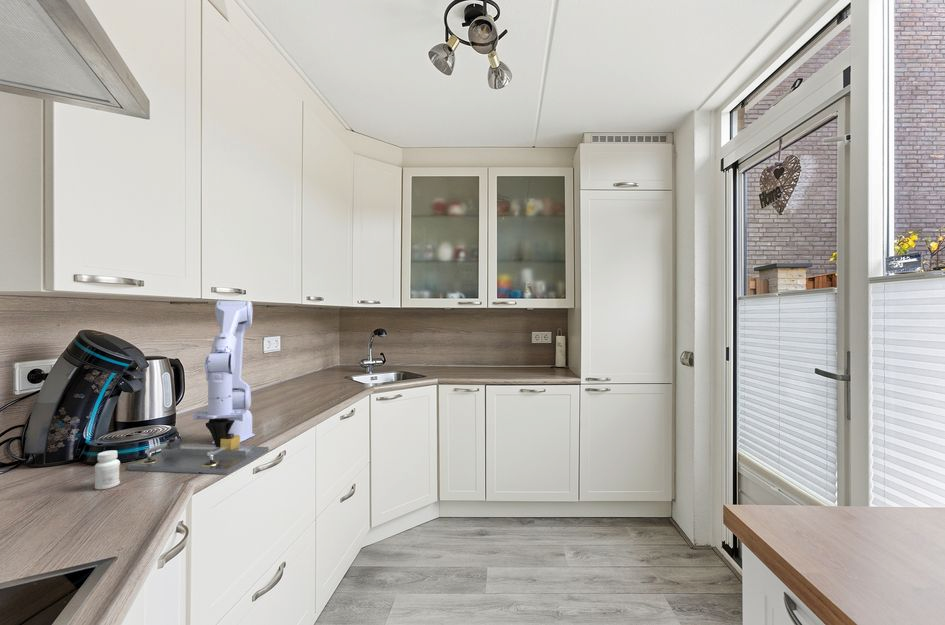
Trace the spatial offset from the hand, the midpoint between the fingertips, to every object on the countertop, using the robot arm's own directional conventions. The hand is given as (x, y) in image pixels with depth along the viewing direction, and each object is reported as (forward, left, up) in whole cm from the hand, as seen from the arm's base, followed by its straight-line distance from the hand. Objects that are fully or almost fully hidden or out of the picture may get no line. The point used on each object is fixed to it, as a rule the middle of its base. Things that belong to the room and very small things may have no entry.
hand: (220, 446), depth 112 cm
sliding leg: (+3, +3, -2) cm, 5 cm away
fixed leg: (+3, -15, -2) cm, 15 cm away
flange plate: (+1, -4, -3) cm, 5 cm away
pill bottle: (+19, -14, -4) cm, 24 cm away
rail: (0, -4, -2) cm, 5 cm away
